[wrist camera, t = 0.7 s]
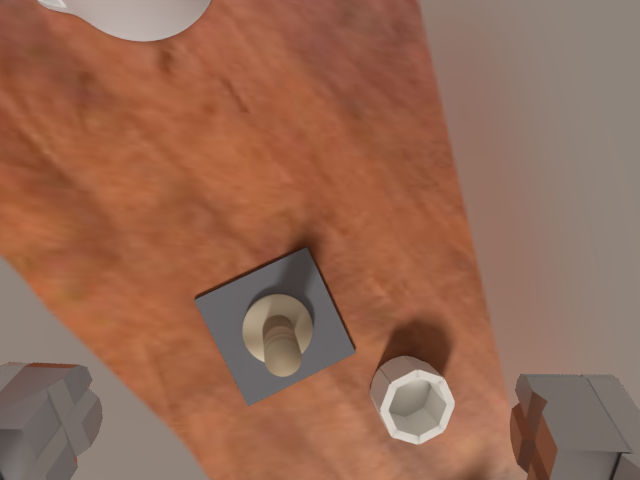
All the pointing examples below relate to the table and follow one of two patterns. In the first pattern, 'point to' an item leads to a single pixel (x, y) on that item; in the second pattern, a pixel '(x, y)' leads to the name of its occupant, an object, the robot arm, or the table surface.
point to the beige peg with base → (278, 332)
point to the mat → (237, 297)
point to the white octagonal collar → (411, 399)
